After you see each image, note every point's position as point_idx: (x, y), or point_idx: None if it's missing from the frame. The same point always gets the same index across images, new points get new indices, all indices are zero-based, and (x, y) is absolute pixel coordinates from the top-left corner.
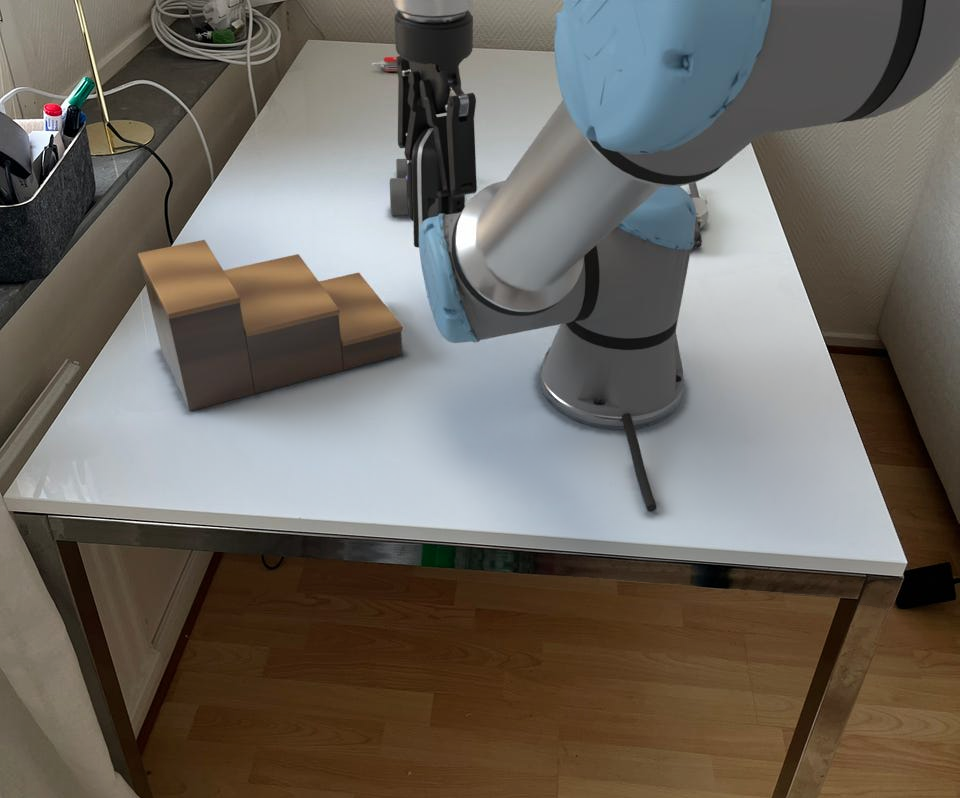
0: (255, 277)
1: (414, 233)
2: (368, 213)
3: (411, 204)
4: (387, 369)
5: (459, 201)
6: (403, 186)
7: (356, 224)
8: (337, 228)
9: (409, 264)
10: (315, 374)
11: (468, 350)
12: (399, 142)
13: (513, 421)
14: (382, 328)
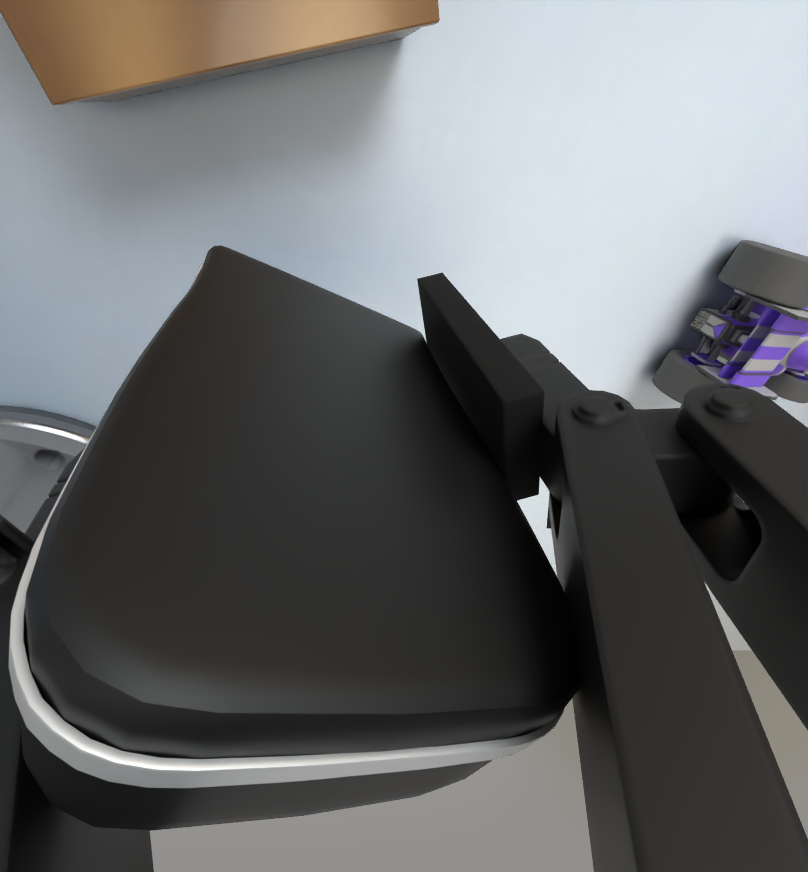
0: None
1: (203, 265)
2: (792, 184)
3: (439, 303)
4: None
5: None
6: (781, 293)
7: (773, 136)
8: (795, 68)
9: (540, 235)
10: None
11: (150, 292)
12: (725, 406)
13: None
14: (21, 7)
